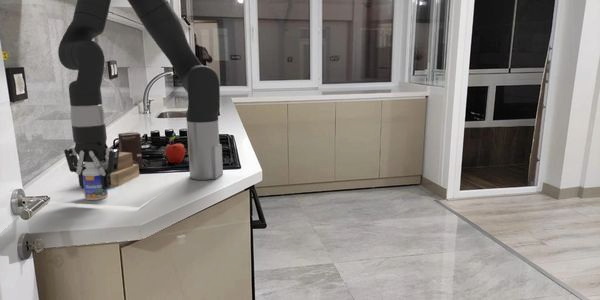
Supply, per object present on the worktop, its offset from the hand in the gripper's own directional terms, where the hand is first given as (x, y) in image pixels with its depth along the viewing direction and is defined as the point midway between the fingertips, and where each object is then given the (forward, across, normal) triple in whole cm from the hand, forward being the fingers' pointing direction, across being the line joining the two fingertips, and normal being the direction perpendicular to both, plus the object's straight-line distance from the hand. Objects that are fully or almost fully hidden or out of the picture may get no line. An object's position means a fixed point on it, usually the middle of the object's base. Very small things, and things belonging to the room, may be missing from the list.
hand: (95, 188), depth 107 cm
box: (+3, +6, -27) cm, 28 cm away
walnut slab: (-1, +6, -16) cm, 17 cm away
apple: (+3, -4, -38) cm, 38 cm away
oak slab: (+3, +6, -16) cm, 17 cm away
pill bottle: (+3, 0, 0) cm, 3 cm away
